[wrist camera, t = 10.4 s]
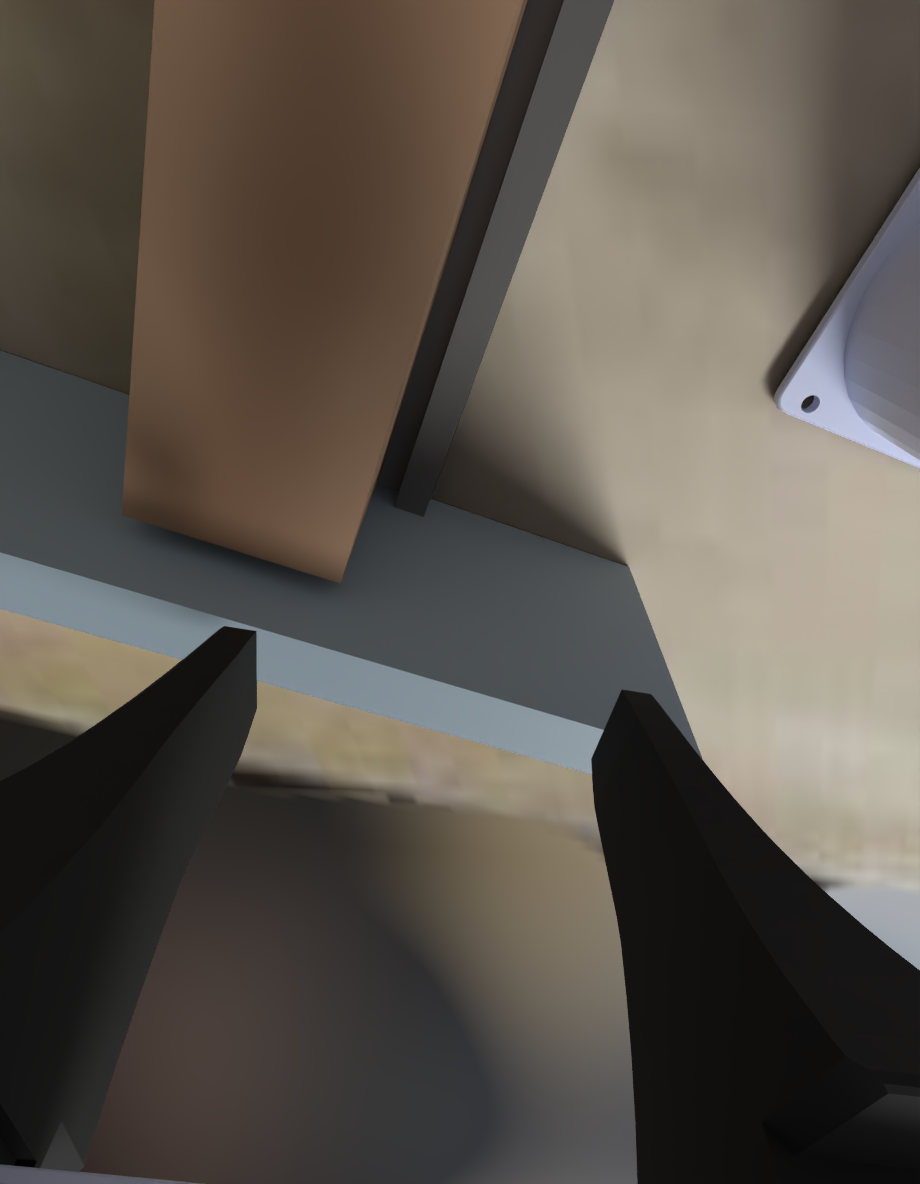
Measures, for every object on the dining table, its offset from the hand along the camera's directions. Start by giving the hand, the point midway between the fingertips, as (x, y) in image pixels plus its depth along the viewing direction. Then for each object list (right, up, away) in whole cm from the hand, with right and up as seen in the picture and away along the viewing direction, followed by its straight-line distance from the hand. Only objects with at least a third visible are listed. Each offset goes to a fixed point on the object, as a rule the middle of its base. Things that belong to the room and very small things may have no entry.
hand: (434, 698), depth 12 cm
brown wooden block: (-2, +12, +4) cm, 13 cm away
